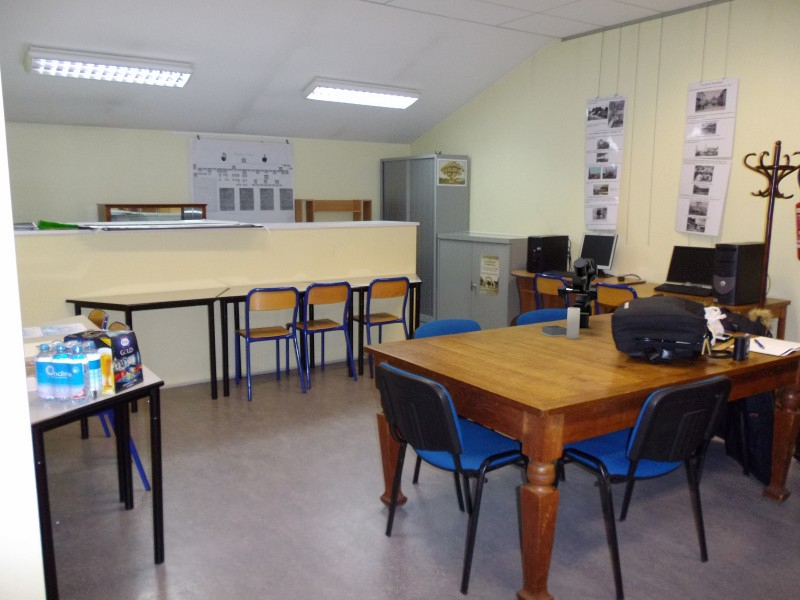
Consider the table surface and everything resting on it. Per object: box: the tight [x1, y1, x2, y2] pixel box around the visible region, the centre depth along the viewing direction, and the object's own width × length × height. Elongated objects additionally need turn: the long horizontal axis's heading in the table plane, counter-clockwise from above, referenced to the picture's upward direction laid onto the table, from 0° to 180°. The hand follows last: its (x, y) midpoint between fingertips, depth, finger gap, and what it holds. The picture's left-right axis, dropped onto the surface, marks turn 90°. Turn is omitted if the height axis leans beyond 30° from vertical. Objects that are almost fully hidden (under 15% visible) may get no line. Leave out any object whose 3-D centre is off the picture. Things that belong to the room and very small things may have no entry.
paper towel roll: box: [565, 306, 580, 340], centre depth 309 cm, size 6×6×14 cm
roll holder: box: [540, 324, 567, 338], centre depth 317 cm, size 9×9×4 cm
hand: (575, 305), depth 315 cm, fingers open, 9 cm apart
